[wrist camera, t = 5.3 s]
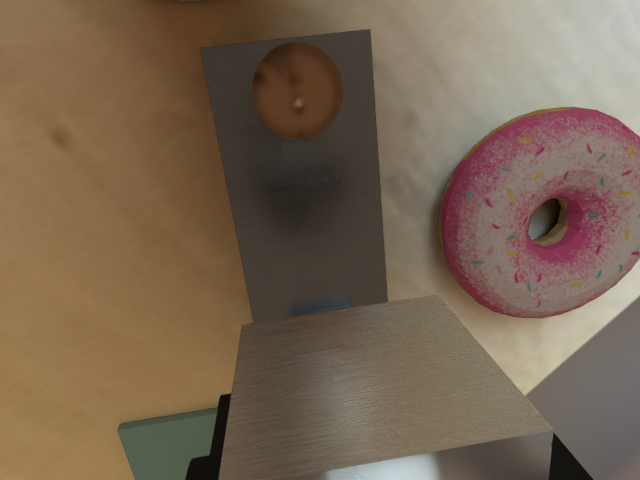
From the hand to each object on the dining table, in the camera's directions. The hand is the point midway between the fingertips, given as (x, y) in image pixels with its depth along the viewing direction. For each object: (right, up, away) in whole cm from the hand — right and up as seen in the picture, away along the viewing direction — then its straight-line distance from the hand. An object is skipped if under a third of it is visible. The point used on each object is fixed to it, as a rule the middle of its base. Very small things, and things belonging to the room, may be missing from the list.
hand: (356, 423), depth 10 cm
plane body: (-2, +5, +16) cm, 17 cm away
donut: (+13, +7, +17) cm, 23 cm away
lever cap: (0, 0, +1) cm, 1 cm away
